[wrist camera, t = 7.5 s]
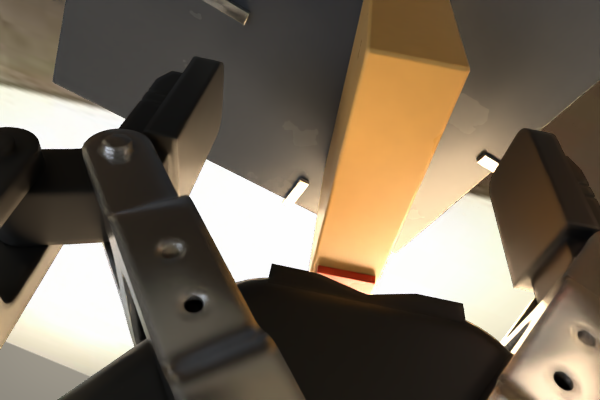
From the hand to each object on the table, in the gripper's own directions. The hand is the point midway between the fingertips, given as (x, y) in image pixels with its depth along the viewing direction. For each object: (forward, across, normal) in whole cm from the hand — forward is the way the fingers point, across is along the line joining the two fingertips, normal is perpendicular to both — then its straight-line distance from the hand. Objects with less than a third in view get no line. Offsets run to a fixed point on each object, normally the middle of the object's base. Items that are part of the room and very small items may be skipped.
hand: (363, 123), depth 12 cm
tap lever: (+2, 0, 0) cm, 2 cm away
